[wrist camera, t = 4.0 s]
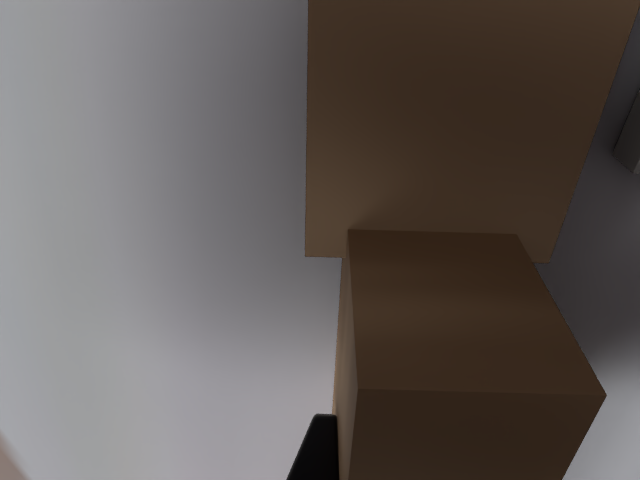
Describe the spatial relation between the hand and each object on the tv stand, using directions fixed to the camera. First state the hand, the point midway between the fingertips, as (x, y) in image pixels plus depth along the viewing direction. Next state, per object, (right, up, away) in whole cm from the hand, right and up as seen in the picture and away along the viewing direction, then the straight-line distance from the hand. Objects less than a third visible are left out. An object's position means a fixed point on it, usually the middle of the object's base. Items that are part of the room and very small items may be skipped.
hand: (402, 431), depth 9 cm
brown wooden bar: (0, 0, +1) cm, 1 cm away
